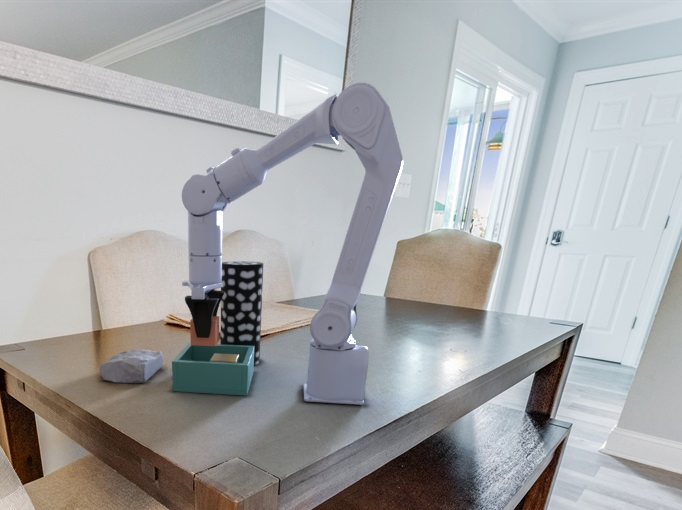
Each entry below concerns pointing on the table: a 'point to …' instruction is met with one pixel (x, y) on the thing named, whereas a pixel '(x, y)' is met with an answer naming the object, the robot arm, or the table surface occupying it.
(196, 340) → the coral block
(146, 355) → the stone block
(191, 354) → the teal storage bin
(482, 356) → the table surface
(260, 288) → the spotted tube
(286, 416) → the table surface
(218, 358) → the maple block
